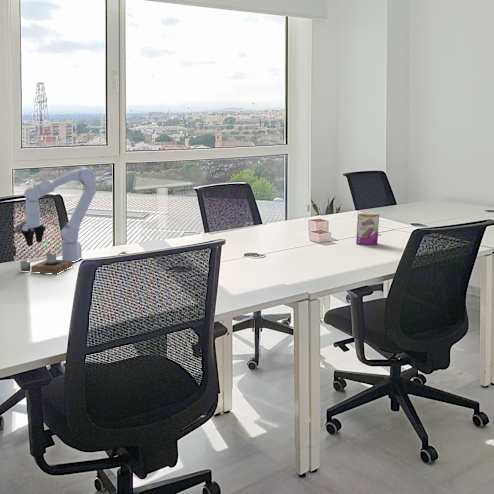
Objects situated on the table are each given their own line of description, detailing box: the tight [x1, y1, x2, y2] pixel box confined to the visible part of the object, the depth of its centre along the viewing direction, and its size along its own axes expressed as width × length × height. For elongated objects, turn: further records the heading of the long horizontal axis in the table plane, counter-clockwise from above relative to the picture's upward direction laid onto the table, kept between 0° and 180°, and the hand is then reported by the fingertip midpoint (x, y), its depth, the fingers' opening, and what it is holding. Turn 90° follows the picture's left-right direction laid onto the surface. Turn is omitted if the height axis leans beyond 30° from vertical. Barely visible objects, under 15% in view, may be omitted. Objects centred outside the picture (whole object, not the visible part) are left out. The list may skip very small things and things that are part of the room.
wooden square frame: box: [30, 259, 74, 274], centre depth 299 cm, size 14×12×3 cm
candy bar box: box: [355, 211, 380, 246], centre depth 359 cm, size 11×5×16 cm, turn 84°
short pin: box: [20, 259, 31, 272], centre depth 296 cm, size 4×4×4 cm
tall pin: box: [46, 252, 57, 266], centre depth 298 cm, size 4×4×8 cm
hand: (34, 244), depth 308 cm, fingers open, 7 cm apart
